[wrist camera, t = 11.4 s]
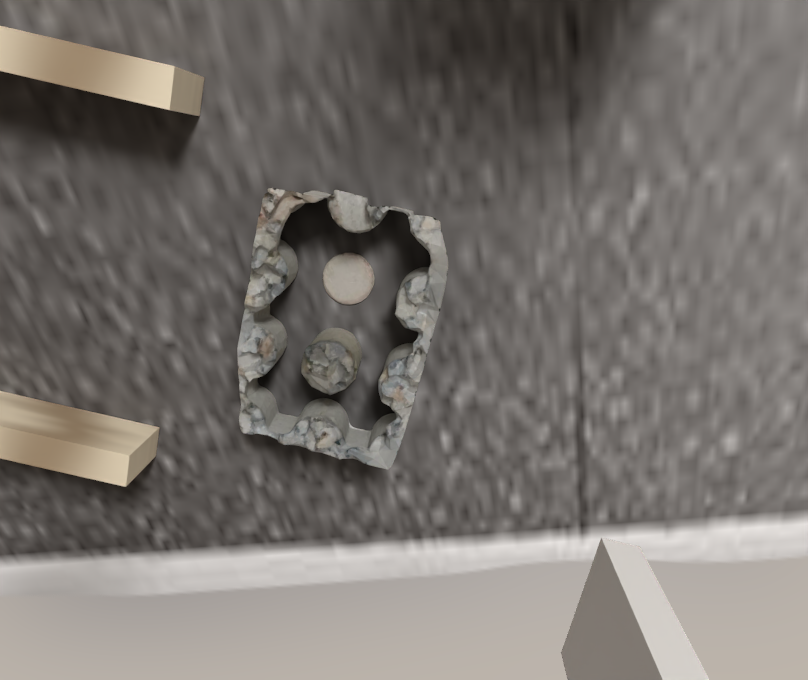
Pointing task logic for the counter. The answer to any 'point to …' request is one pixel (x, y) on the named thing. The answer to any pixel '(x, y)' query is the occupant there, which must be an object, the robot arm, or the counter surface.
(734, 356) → the counter surface
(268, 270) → the egg carton
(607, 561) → the robot arm
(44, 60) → the channel
